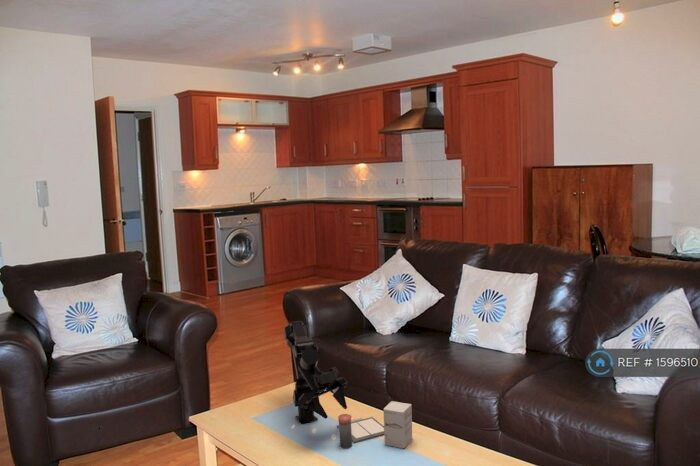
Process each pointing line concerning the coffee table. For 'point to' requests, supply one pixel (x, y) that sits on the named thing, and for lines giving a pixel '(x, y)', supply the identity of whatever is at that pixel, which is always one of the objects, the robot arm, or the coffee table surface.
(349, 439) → the ball
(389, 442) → the supplement box
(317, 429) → the coffee table surface
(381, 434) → the grey framed board
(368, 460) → the coffee table surface
